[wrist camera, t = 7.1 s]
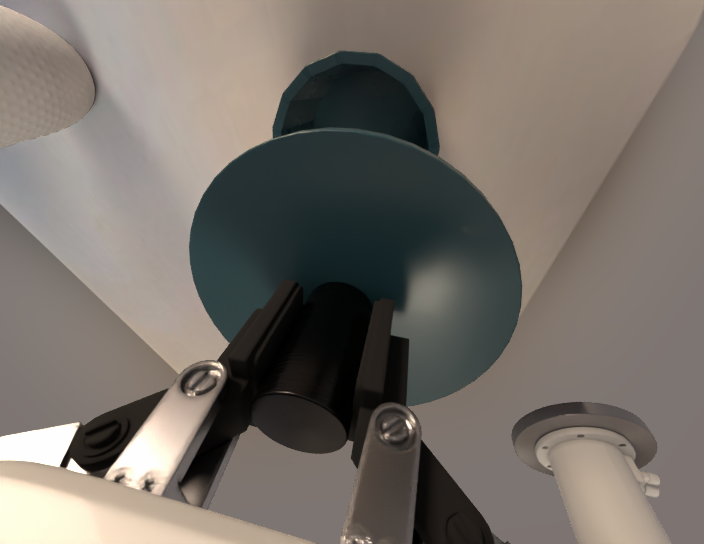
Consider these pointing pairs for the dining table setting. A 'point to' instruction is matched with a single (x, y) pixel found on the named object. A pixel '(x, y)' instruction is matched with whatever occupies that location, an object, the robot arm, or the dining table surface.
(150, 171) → the dining table surface
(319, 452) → the lid
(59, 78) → the mug
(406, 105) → the pot
